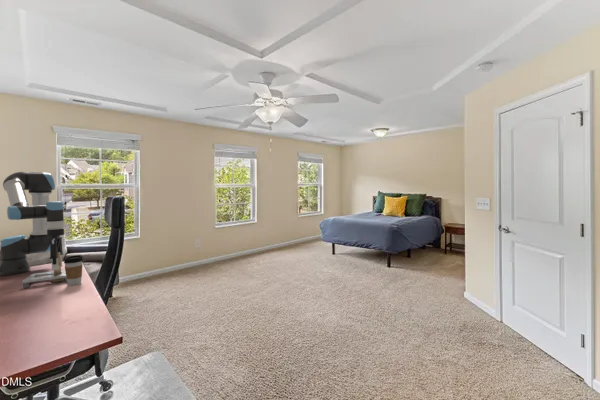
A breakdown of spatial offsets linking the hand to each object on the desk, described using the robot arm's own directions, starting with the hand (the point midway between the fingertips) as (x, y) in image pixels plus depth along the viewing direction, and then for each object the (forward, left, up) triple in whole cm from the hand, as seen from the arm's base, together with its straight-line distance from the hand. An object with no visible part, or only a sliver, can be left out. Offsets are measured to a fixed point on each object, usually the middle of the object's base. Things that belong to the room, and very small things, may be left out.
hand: (57, 268), depth 168 cm
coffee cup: (+14, +10, -7) cm, 19 cm away
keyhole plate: (0, -3, -7) cm, 8 cm away
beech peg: (0, 0, -7) cm, 7 cm away
